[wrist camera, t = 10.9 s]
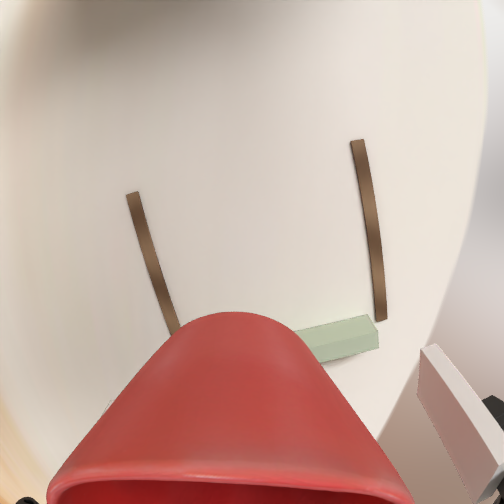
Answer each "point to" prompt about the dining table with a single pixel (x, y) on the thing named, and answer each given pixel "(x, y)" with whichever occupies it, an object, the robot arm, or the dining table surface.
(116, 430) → the flower pot
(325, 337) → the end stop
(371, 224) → the guide strips
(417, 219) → the dining table surface
